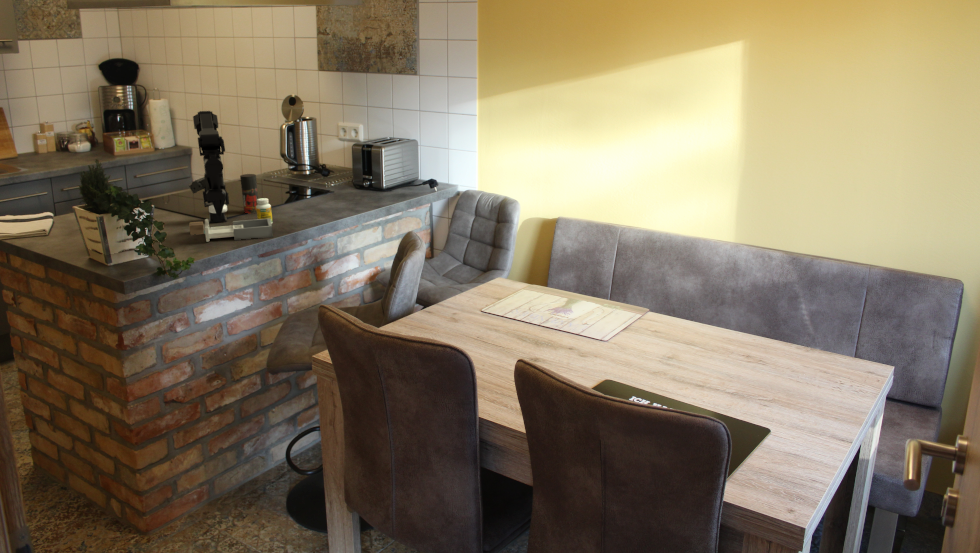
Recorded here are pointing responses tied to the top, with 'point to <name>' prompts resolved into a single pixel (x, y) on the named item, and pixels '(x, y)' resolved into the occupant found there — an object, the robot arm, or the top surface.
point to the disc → (212, 209)
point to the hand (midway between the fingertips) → (218, 214)
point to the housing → (253, 229)
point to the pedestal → (196, 228)
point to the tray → (219, 231)
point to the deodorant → (249, 193)
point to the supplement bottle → (264, 209)
